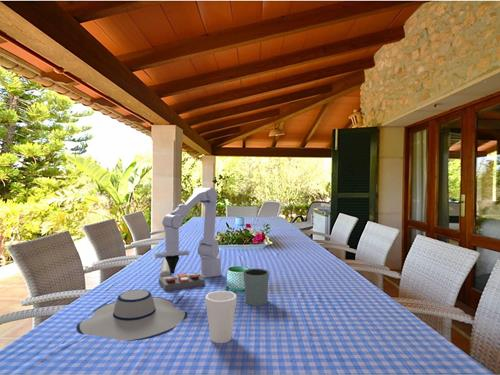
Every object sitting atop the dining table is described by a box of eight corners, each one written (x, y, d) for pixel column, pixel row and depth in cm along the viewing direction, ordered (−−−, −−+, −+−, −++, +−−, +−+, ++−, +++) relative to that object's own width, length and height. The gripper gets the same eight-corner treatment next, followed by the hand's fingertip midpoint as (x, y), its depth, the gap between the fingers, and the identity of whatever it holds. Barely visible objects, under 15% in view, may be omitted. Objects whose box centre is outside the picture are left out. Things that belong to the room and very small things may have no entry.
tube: (172, 272, 163) (172, 259, 188) (161, 269, 162) (163, 256, 187) (168, 282, 163) (169, 268, 187) (157, 279, 162) (160, 265, 186)
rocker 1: (173, 279, 155) (173, 277, 155) (176, 279, 150) (176, 277, 150) (165, 280, 154) (165, 278, 154) (168, 280, 148) (168, 278, 148)
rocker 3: (196, 276, 160) (196, 274, 160) (200, 276, 155) (200, 274, 155) (189, 277, 159) (189, 274, 159) (193, 277, 153) (192, 275, 154)
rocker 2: (185, 274, 158) (185, 272, 158) (188, 281, 153) (189, 279, 152) (177, 275, 156) (177, 273, 156) (180, 282, 151) (181, 280, 151)
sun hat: (94, 304, 134) (94, 281, 134) (187, 298, 140) (187, 276, 140) (59, 349, 99) (59, 318, 98) (186, 339, 105) (186, 310, 104)
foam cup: (206, 331, 109) (206, 291, 108) (235, 330, 109) (235, 290, 109) (205, 346, 99) (204, 302, 99) (236, 345, 100) (236, 301, 99)
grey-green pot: (250, 308, 128) (250, 276, 128) (239, 299, 137) (239, 270, 136) (273, 303, 133) (273, 273, 132) (261, 295, 142) (261, 267, 141)
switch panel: (196, 278, 166) (196, 271, 166) (204, 285, 155) (204, 278, 155) (158, 283, 158) (158, 276, 158) (165, 290, 147) (165, 283, 147)
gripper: (157, 245, 142) (157, 277, 143) (190, 242, 149) (190, 273, 149) (153, 242, 149) (153, 273, 149) (186, 239, 155) (186, 269, 156)
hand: (172, 272), depth 150 cm, fingers closed
